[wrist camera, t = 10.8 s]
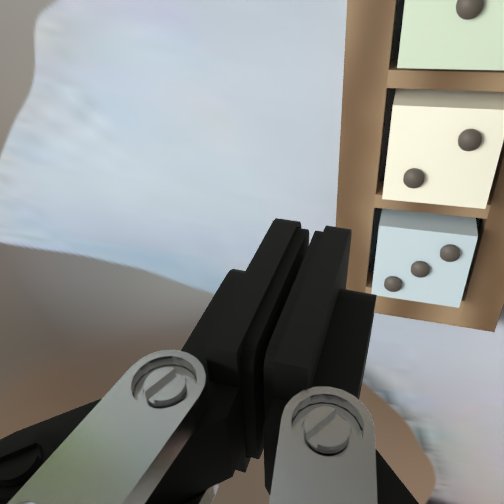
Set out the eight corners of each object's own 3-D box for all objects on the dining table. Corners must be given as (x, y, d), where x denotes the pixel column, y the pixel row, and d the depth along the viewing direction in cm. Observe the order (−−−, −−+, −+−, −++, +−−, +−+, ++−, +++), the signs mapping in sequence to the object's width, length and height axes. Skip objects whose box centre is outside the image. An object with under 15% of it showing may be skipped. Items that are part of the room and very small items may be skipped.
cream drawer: (505, 92, 27) (511, 112, 25) (481, 185, 31) (485, 211, 28) (396, 88, 29) (392, 106, 26) (385, 177, 32) (381, 201, 30)
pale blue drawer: (475, 211, 32) (478, 239, 29) (457, 281, 35) (459, 310, 33) (382, 202, 34) (378, 228, 31) (375, 269, 37) (370, 297, 35)
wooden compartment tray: (646, -169, 20) (664, -174, 19) (491, 313, 37) (494, 331, 35) (360, -142, 24) (354, -144, 22) (335, 290, 40) (331, 305, 38)
